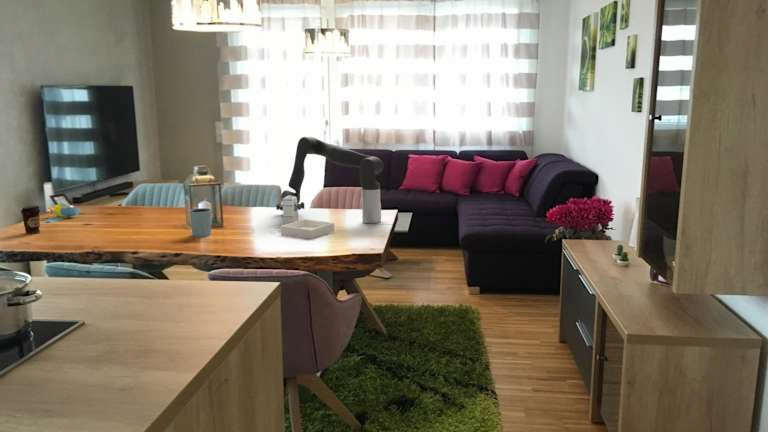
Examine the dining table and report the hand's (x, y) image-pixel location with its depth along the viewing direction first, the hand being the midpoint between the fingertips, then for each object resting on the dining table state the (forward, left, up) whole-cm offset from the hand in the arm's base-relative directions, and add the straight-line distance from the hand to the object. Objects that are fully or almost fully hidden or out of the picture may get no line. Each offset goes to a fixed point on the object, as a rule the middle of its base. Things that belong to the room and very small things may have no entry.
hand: (290, 208), depth 325 cm
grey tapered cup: (+38, -23, -9) cm, 45 cm away
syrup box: (+1, +1, -9) cm, 9 cm away
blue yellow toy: (+45, -123, -9) cm, 131 cm away
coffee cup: (+76, -99, -9) cm, 125 cm away
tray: (+10, +19, -9) cm, 23 cm away
